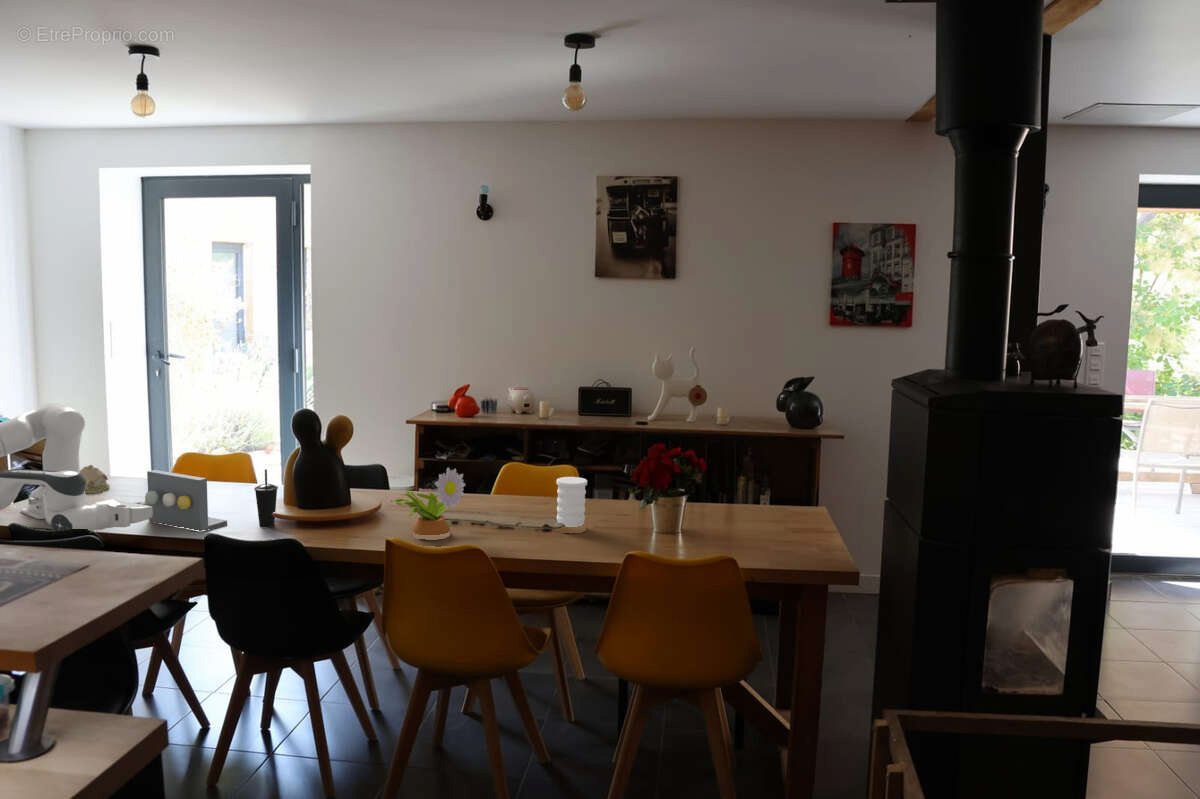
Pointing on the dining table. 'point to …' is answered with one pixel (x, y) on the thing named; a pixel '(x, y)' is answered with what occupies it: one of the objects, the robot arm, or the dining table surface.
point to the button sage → (152, 497)
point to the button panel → (180, 487)
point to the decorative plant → (430, 515)
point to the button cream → (169, 499)
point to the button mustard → (184, 502)
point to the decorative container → (571, 501)
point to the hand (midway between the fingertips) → (144, 504)
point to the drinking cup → (266, 503)
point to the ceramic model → (94, 480)
